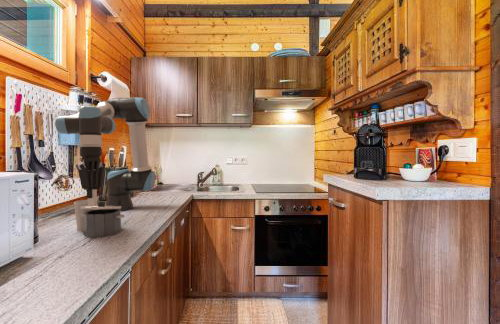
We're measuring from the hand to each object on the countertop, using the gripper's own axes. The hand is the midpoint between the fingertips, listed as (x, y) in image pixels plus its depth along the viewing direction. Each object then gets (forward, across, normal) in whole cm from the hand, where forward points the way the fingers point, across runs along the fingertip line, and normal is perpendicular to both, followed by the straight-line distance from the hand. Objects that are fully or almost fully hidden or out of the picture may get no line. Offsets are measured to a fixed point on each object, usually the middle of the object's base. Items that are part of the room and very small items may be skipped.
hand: (92, 205), depth 110 cm
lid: (+2, -5, 0) cm, 6 cm away
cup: (+12, -10, -13) cm, 20 cm away
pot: (+12, -6, 0) cm, 13 cm away
